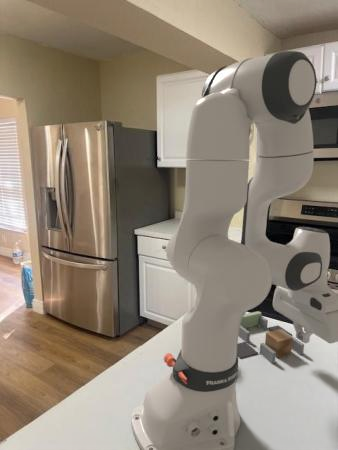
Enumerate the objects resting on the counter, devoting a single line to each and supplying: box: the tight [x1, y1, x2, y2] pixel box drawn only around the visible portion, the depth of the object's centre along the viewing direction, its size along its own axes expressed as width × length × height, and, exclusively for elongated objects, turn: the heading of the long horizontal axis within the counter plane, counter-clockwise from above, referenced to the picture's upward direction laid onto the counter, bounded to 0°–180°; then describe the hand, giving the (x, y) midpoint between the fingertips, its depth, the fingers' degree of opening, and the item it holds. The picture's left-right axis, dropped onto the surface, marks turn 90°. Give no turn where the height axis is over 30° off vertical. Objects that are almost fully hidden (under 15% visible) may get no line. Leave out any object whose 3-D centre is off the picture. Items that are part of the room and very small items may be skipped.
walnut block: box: [264, 329, 293, 359], centre depth 94 cm, size 5×5×5 cm
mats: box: [237, 325, 293, 359], centre depth 100 cm, size 22×10×1 cm, turn 114°
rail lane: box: [238, 310, 305, 364], centre depth 99 cm, size 11×20×4 cm, turn 24°
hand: (302, 340), depth 87 cm, fingers closed
